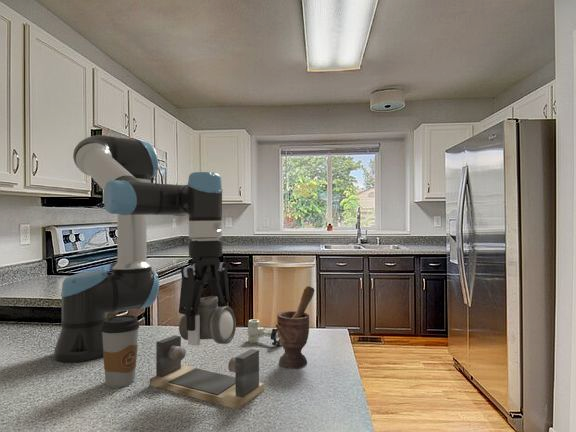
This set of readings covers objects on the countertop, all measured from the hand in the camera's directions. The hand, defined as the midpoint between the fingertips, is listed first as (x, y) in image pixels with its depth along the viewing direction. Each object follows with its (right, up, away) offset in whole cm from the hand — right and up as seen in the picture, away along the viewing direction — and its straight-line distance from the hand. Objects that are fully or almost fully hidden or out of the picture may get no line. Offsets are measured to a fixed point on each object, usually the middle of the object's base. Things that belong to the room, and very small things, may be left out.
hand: (206, 339), depth 87 cm
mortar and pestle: (+21, -11, +16) cm, 29 cm away
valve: (+11, -12, +33) cm, 36 cm away
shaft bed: (0, -11, 0) cm, 11 cm away
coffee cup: (-21, -11, +3) cm, 24 cm away
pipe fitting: (0, 0, 0) cm, 1 cm away
